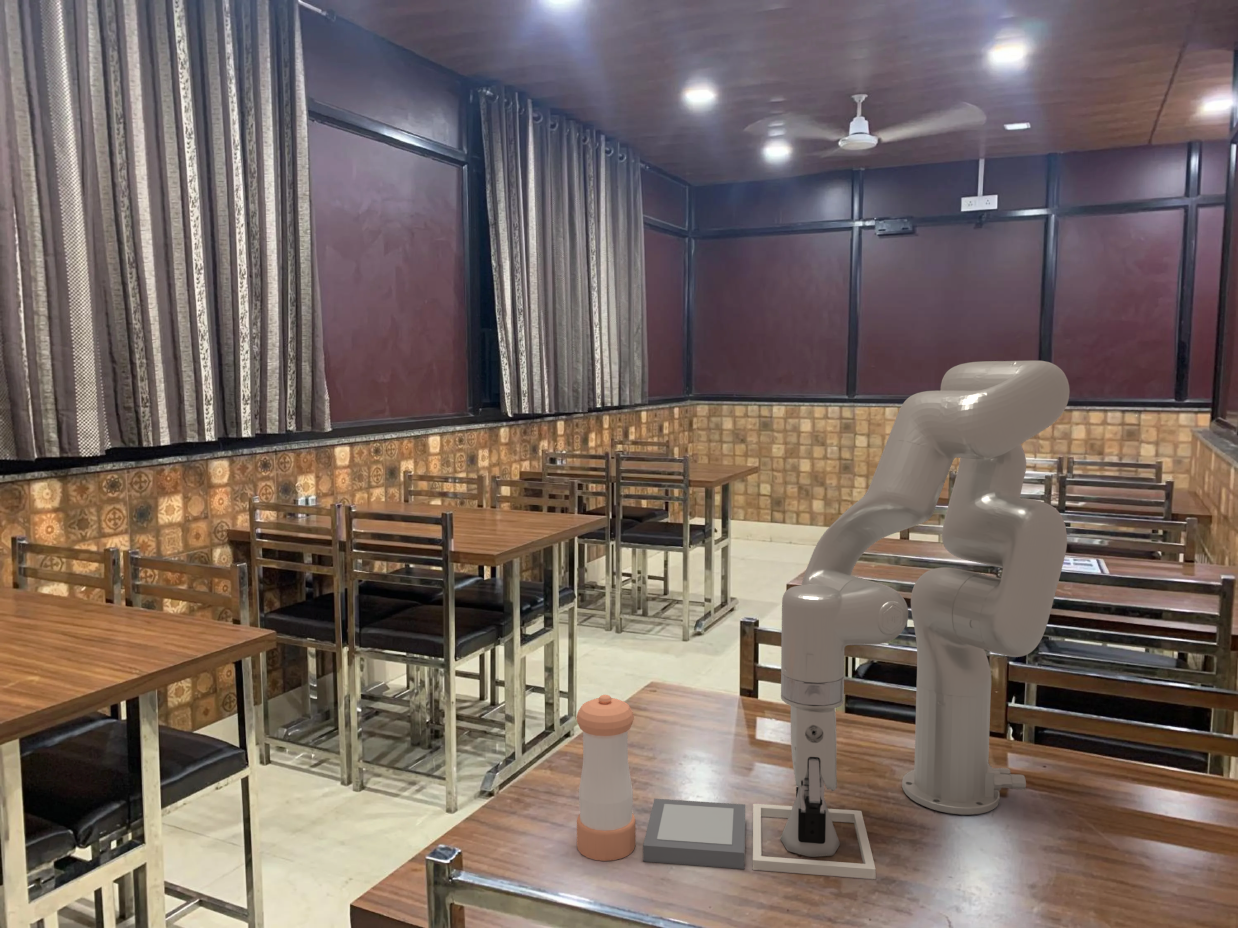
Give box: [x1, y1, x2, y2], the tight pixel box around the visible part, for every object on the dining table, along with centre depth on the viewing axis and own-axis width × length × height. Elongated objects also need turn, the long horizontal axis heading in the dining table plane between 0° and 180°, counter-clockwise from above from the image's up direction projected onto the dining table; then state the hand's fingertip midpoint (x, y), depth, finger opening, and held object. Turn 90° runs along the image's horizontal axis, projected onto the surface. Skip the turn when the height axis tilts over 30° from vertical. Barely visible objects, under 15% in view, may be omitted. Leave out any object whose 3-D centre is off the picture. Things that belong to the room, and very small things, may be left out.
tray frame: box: [752, 803, 877, 880], centre depth 109 cm, size 14×14×1 cm
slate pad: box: [642, 798, 746, 870], centre depth 111 cm, size 12×12×2 cm
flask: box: [779, 780, 841, 858], centre depth 109 cm, size 7×7×10 cm
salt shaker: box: [576, 694, 637, 862], centre depth 108 cm, size 7×7×19 cm
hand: (810, 828), depth 109 cm, fingers closed on flask, 4 cm apart
